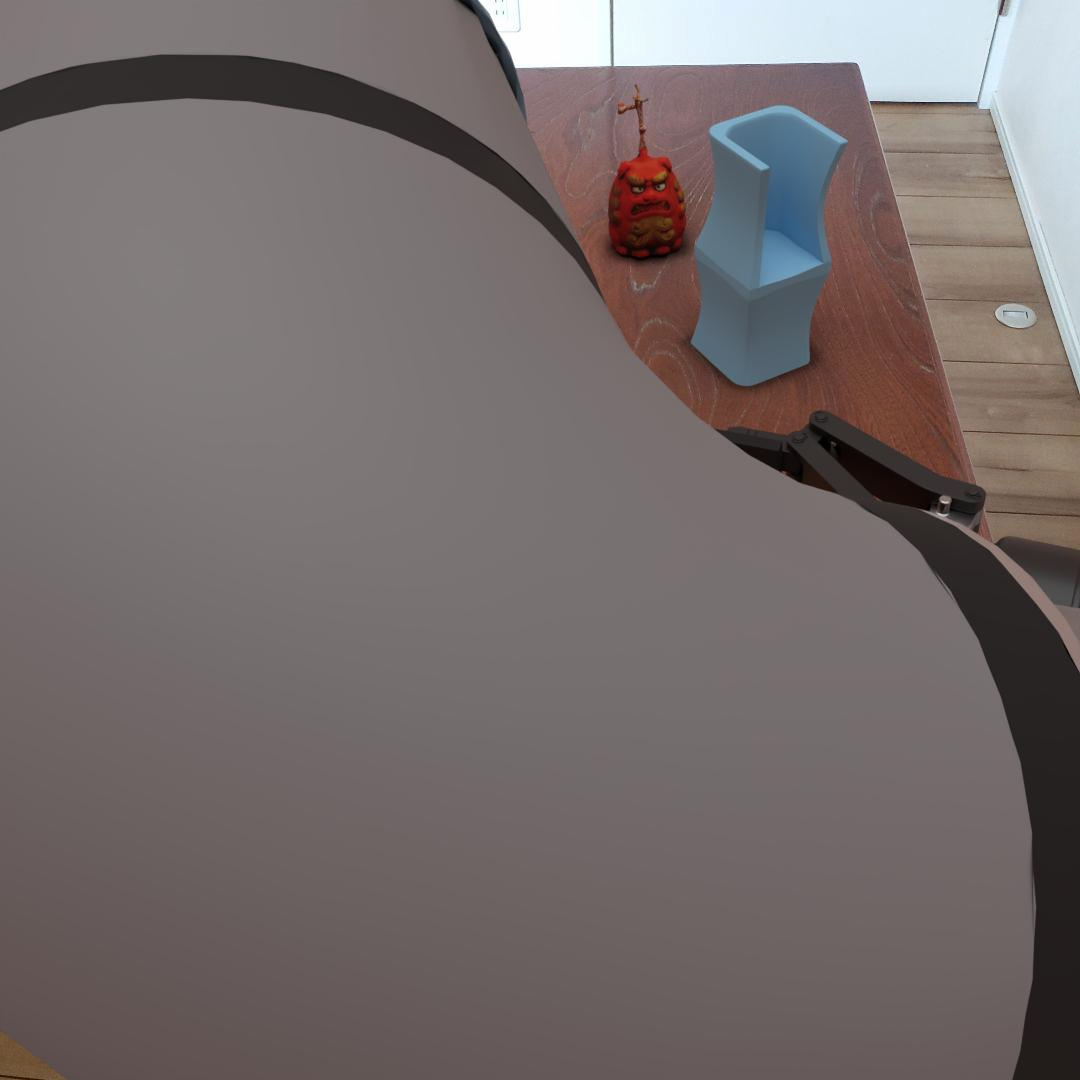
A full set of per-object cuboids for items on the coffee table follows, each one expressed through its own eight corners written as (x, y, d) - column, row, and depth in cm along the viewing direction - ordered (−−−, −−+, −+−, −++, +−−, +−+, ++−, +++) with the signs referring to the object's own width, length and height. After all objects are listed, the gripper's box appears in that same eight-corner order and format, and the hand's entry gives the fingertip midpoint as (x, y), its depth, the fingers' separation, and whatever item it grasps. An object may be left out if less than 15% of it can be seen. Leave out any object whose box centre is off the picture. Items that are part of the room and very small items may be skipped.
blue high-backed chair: (740, 390, 94) (760, 170, 80) (690, 343, 99) (700, 127, 85) (817, 360, 97) (849, 141, 82) (763, 315, 102) (785, 101, 87)
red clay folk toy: (617, 267, 109) (615, 119, 98) (600, 231, 113) (597, 85, 103) (692, 255, 109) (699, 106, 98) (673, 219, 114) (677, 73, 103)
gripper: (1009, 944, 43) (516, 779, 51) (1092, 500, 57) (697, 426, 65) (1046, 851, 38) (488, 683, 46) (1127, 386, 52) (692, 321, 60)
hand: (610, 531), depth 56 cm, fingers open, 13 cm apart
